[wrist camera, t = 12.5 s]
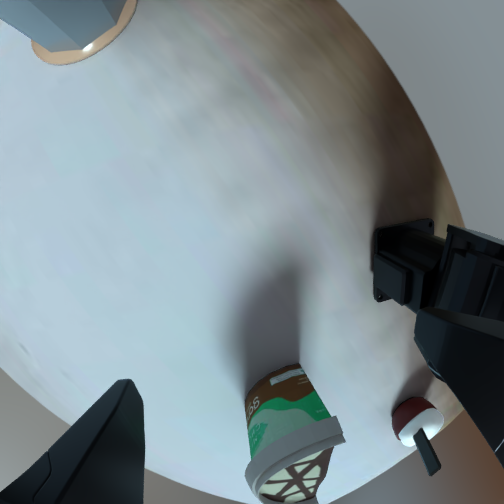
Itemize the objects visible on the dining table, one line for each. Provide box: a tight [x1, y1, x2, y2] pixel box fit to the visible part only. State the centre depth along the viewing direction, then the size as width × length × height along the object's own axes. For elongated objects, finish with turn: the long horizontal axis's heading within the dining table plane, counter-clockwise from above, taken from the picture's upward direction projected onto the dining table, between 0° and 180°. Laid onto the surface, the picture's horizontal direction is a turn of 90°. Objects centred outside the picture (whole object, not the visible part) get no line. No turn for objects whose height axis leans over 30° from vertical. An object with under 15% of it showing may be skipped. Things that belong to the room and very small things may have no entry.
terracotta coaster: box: [31, 0, 137, 65], centre depth 13 cm, size 9×9×1 cm
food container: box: [245, 364, 346, 504], centre depth 20 cm, size 12×6×10 cm, turn 1°
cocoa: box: [392, 397, 444, 476], centre depth 24 cm, size 10×6×12 cm, turn 36°
